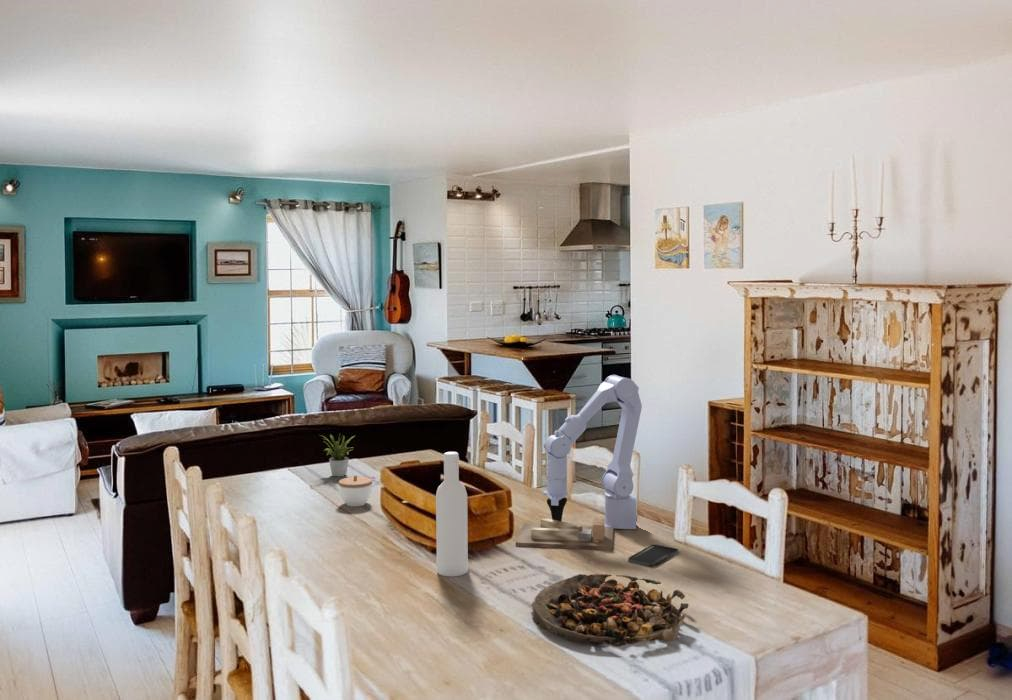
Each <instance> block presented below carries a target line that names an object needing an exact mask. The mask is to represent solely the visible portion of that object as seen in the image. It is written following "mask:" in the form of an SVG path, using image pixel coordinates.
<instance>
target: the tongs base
mask: <svg viewBox="0 0 1012 700" xmlns="http://www.w3.org/2000/svg"><path fill="white" fill-rule="evenodd" d="M581 526H582V531H579V529H559V528H541V523H523V525H522V528H521V530H520V532H519V534H518V535H517V536H518V537H517V539H516V542H515V546H516V547H530V548H533V547H534V548H551V549H553V548H555V549H556V548H557V549H577V550H603V551H604V550H605V551H608V550H609V551H613V539H614V538H613V537H614V529H613V527H605V535H604V542H598V541H593V525H581Z"/></svg>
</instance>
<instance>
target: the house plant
mask: <svg viewBox="0 0 1012 700" xmlns="http://www.w3.org/2000/svg"><path fill="white" fill-rule="evenodd" d="M340 435H341V434H339V436H338V437H339V438H338V439H337V440H336V441H335V437H334V436H333V435H332V434H330V435H329V437H330V439H331V441H330V440H329V439H328V438H327V437H325V436H324V435H322V437H323V438H324V443H325V444H326V445H327V446H328V447H329V448H328V447H327V448H325V449H324V450H322V451H323V452H327V453H326V456H328V455H331V457H330V458H329V460H328V461H329V466H330V471H331V475H332V476H331V477H333V476H343V477H345V476H344V475H346V476H347V473H348V472H347V471H348V467H349V466H348V465H349V460H350V458H349V457H347V456H346V455H349V454H350V453H349V452H350V451H352V449H354V446H352V447H348V446H347V445H348V444H349V443H350V441H351V440H352V439H354V437H355V435H353V436H351V437H350V438H349V439H347V440H346V441H345V436H342V437H343V438H342V437H340ZM319 436H321V435H320V434H319ZM341 439H342V441H341ZM325 440H326V441H327V442H328V443H327V442H326V441H325ZM340 442H341V444H340ZM329 444H330V445H329ZM349 449H350V450H349ZM333 450H334V451H333Z"/></svg>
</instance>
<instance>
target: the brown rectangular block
mask: <svg viewBox="0 0 1012 700" xmlns="http://www.w3.org/2000/svg"><path fill="white" fill-rule="evenodd" d="M592 526H593V541H598V542H604V535H605V518H604V517H603V518H602V517H601V518H600V517H599V518H598V517H597V518H596V517H594V518H593V522H592Z"/></svg>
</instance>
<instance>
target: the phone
mask: <svg viewBox="0 0 1012 700" xmlns="http://www.w3.org/2000/svg"><path fill="white" fill-rule="evenodd" d="M677 554H679V549H678V548H675V547H670V546H666V545H661V544H651V545H649V546H648V547H645V548H644V549H642V550H640V551H638V552H637V553H635V554H633V555H631V556H629V557H628V559H627V561H628V562H629V563H631V564H636V565H640V566H646V567H650V568H655V566H656V567H657V566H659V565H661V564H662V563H664V562H665V561H668V560H669V559H671V558H672V557H674V556H676V555H677Z"/></svg>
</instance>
